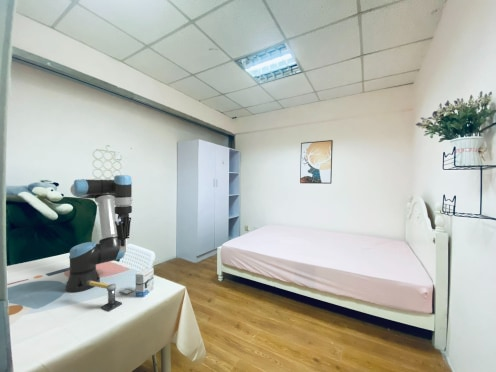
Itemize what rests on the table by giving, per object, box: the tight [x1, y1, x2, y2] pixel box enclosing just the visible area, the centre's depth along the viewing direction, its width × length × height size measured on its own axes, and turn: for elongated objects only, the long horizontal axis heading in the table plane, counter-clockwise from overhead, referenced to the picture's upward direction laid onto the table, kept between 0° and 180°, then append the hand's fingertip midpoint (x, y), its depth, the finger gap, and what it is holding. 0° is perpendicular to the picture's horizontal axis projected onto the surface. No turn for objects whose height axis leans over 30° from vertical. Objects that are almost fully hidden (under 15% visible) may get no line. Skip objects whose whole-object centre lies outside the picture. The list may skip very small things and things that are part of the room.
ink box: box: [135, 266, 155, 298], centre depth 109 cm, size 8×5×12 cm, turn 168°
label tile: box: [118, 288, 135, 297], centre depth 109 cm, size 6×4×1 cm, turn 66°
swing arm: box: [86, 280, 117, 292], centre depth 99 cm, size 4×18×2 cm, turn 73°
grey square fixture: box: [100, 289, 123, 312], centre depth 97 cm, size 6×6×8 cm
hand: (123, 251), depth 104 cm, fingers closed
